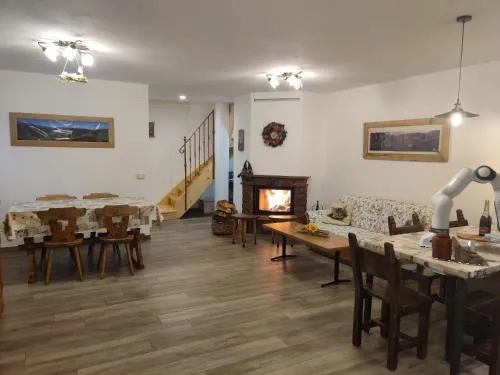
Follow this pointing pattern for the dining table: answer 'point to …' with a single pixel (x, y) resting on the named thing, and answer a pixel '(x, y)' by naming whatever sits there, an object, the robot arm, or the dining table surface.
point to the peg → (471, 247)
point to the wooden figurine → (442, 246)
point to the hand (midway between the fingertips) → (488, 239)
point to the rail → (464, 254)
